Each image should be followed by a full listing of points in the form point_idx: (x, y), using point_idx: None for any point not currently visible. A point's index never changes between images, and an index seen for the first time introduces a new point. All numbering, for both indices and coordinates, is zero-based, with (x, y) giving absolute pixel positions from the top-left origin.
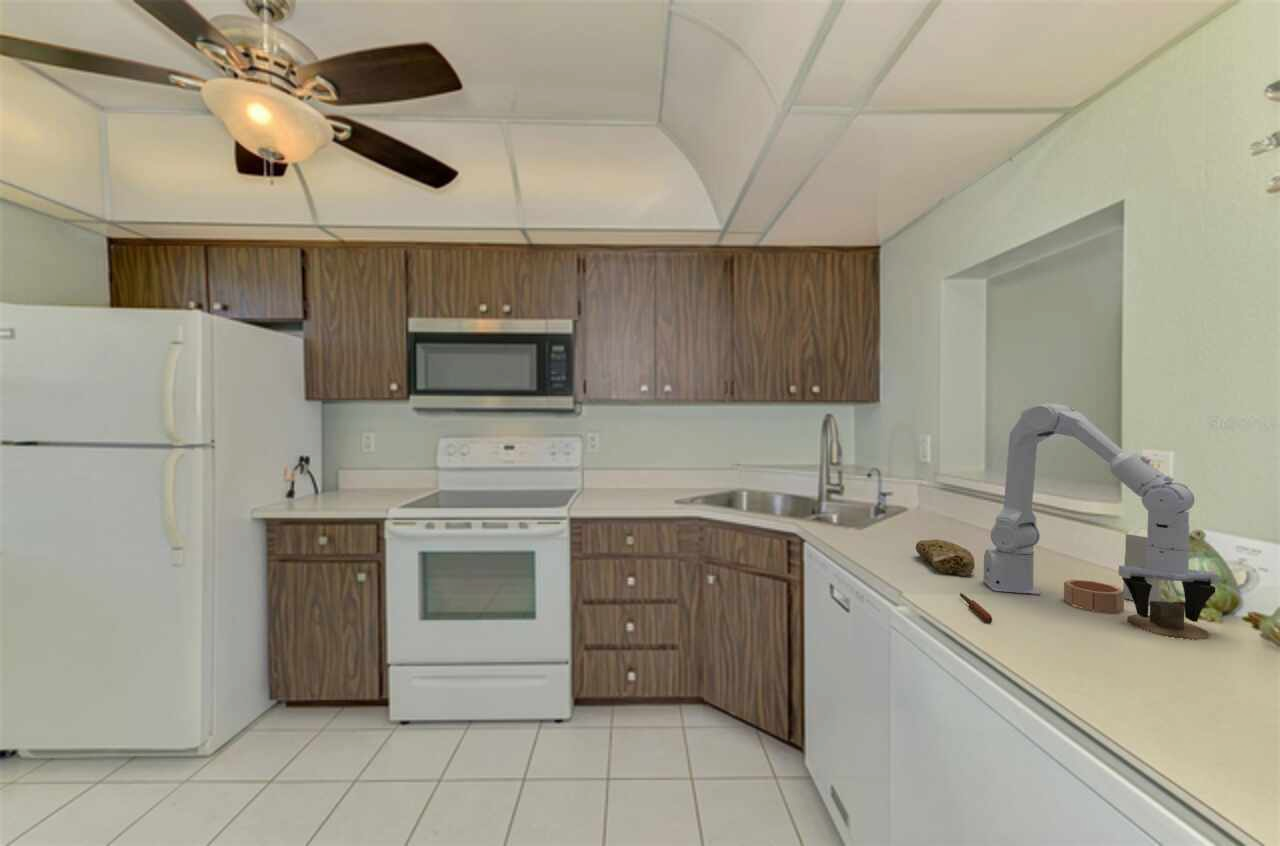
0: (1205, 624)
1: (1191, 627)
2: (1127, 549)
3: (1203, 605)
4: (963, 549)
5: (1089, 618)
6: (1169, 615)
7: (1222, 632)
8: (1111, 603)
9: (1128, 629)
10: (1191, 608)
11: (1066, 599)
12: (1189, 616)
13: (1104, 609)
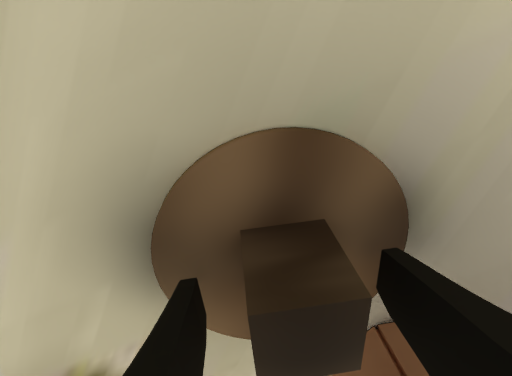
0: (123, 341)
1: (194, 273)
2: None
3: (129, 369)
4: None
5: (509, 242)
6: (310, 265)
7: (88, 285)
8: (409, 358)
9: (451, 169)
10: (191, 348)
11: None
12: (200, 310)
13: None
